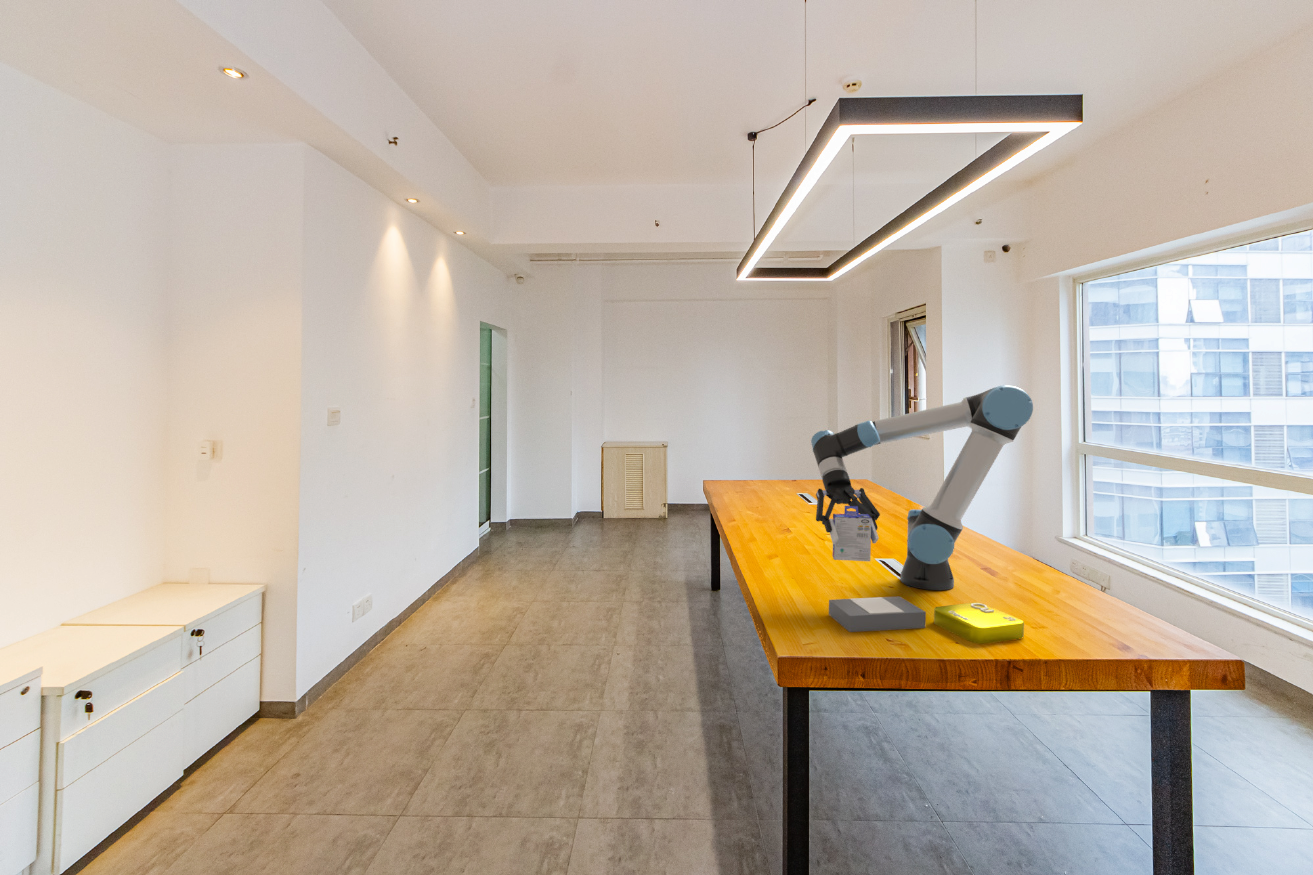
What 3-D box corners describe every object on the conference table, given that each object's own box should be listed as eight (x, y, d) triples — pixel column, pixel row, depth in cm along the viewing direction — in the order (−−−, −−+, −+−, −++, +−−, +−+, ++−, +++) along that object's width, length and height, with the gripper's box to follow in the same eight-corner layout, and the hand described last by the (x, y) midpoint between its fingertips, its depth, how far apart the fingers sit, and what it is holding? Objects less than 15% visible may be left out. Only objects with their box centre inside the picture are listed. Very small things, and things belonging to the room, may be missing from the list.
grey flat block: (899, 610, 157) (899, 595, 157) (925, 627, 146) (925, 611, 145) (828, 614, 155) (829, 599, 155) (849, 631, 143) (849, 615, 143)
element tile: (930, 623, 150) (930, 604, 149) (977, 617, 154) (978, 599, 153) (976, 646, 135) (977, 626, 135) (1027, 639, 139) (1028, 619, 139)
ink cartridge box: (867, 556, 164) (869, 505, 163) (871, 562, 158) (873, 509, 157) (831, 554, 166) (832, 504, 164) (833, 560, 160) (835, 508, 159)
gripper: (867, 482, 177) (891, 547, 162) (793, 484, 175) (811, 549, 160) (876, 467, 171) (901, 533, 157) (800, 468, 169) (818, 535, 155)
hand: (855, 541), depth 159 cm, fingers closed on ink cartridge box, 10 cm apart
